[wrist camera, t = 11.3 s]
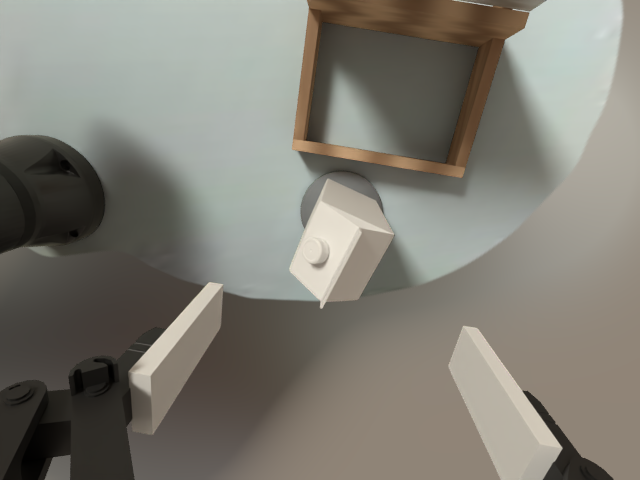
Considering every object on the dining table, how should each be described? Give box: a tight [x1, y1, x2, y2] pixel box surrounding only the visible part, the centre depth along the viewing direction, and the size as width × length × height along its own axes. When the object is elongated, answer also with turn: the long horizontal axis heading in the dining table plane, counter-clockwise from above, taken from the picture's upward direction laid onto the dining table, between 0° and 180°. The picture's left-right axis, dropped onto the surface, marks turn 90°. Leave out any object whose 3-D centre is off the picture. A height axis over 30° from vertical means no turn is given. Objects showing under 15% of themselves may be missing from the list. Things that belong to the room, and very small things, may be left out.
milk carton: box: [289, 179, 394, 308], centre depth 32 cm, size 7×7×19 cm
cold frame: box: [292, 0, 546, 178], centre depth 26 cm, size 20×17×21 cm
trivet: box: [301, 171, 382, 228], centre depth 41 cm, size 11×11×1 cm
